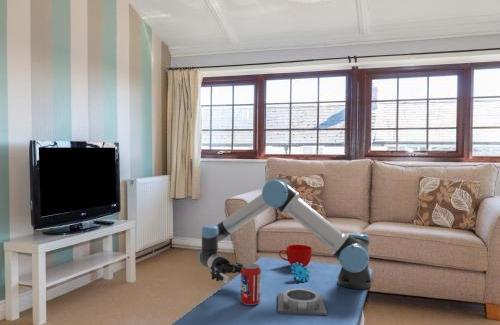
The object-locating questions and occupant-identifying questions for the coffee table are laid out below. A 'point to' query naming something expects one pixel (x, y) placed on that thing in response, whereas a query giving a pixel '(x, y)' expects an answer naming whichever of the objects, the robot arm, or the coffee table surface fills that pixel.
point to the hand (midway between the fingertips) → (242, 278)
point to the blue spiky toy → (300, 272)
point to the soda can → (250, 284)
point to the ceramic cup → (298, 254)
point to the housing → (301, 302)
